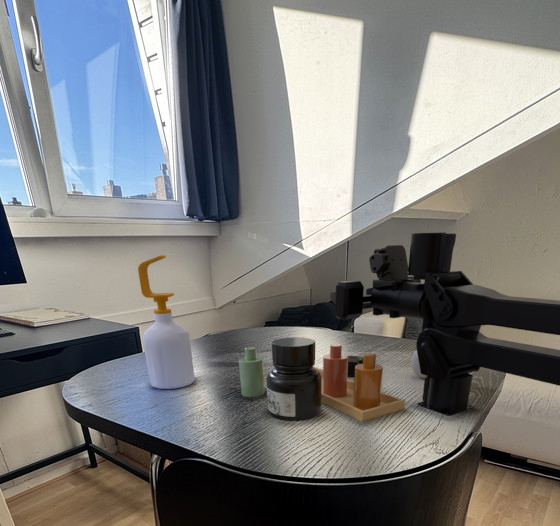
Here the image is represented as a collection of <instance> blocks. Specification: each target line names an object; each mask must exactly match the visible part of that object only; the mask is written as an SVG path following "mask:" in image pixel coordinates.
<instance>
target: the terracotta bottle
mask: <svg viewBox="0 0 560 526" xmlns="http://www.w3.org/2000/svg"><path fill="white" fill-rule="evenodd" d="M342 349H343V346H342V344H340V343H333V344H330V345H329V353H327V354H325V355H323V356H322V366H323V367H322V370H323V393H324V394H326V395H329V396H331V397H333V398H340V397H344V396H346V395H347V379H348V377H349V376H348V356H349V355H347V354H344V353H342V351H343V350H342Z"/></svg>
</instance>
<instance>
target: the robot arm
mask: <svg viewBox="0 0 560 526" xmlns="http://www.w3.org/2000/svg"><path fill="white" fill-rule="evenodd" d="M410 235H411V237H410V247H409V257H407V252H406V251H407V250H406V248H405V247H404V245H402V244H394V245H391V244H390V245H386V246H384V247H382V248H376V249H374V250H373V253H372V254H371V255H370V257H369V258H368V259H369V260H368V261H369V267H370V272H371V273H372V274H375V275H376V277H377V279H372V287H368V288H366V290H365V287H364V284H363V283H362V281H361V280H346V281H338V282H337V283H336V285H335V291H331V292H329V293H330V294H329V298H330V300H331V301H332V303H333V304H334V307H335V308H334V309H335V310H334V311H335V312H334V316H335V318H336V319H338V320H342V321H347V320H354V319H359V318H361V315H362V314H363V312H364V311H363V310H368V309H372V316H384V315H386V316H389V319H398V318H405V319H413V320H418V321H422V325H421V332H420V333H419V335H418V336H417V339H416V350H417V354H418V360H419V366H420V372H421V374H423V375H426V376H427V377H426V378H425V379H424V383H423V390H422V391H423V392H422V398H421V399H422V401H420V402H417V404H416V405H417V406H419V407H421V408H424V409H428V410H430V411H433V412H435V413H437V414H440V415H442V416H443V415H444V416H446V417H451V416H454V415H457V414H459V413H462V412H465V411H468V410H471V409H473V408H474V406H473V405H471V404H469V399H470V395H471V388H472V382H473V376H474V374H471V373H474V372H479V371H480V369H481V368H483V369H487V370H492V371H495V372H500V373H504V374H508V375H512V376H517V377H520V378H526V379H529V380H532V381H533V380H534V381H539V382H541V383H546V384H550V385H555V386H559V387H560V349H557V348H551V347H545V346H539V345H534V344H527V343H521V342H518V341H517V342H516V341H510V340H505V339H500V338H493V337H488V336H487V335H484V334H483V333H482V332H480V331H481V327H482V326H493V327H500V328H507V329H514V330H521V331H528V332H534V333H540V334H541V333H542V334H547V335H554V336H560V300H559V299H557V300H556V299H547V298H535V297H525V296H524V297H523V296H522V297H521V296H512V295H507V294H503V293H501V292H499V291H497V290H495V289H493V288H489V287H485V286H482V285H478V284H474V283H473V282H472V281H471V280H470V279H469V278H468V277H467V275H466V274H465V272H463V271H462V270H452V269H451V268H452V261H453V252H454V249H455V245H456V239H457V234H456V233H454V232H453V233H449V232H446V231H445V232H415V233H411V234H410ZM422 281H424V282H422ZM364 290H365V291H364ZM364 292H365V294H364Z"/></svg>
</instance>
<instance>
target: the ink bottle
mask: <svg viewBox="0 0 560 526" xmlns="http://www.w3.org/2000/svg"><path fill="white" fill-rule="evenodd" d="M271 360H272V366H273V368H272V369H271V371H270V372H268V374H267V376H266V399H267V400H266V401H267V413H268V415H269V416H270V417H272V418H273V419H276V420H280V421H285V422H302V421H307V420H312V419H314V418H317V417H318V416H320V415H321V413H322V403H321V383H322V379H321V375H320V373H319V372H318V371H317V370H316V369H315V368H314V367H315V365H316V340H315V339H312V338H310V337H301V336H299V337H298V336H297V337H296V336H294V337H293V336H291V337H290V336H289V337H282V338H276V339H274V340H273V341H271Z"/></svg>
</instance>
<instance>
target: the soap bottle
mask: <svg viewBox="0 0 560 526" xmlns="http://www.w3.org/2000/svg"><path fill="white" fill-rule="evenodd" d="M166 258H167V256H166V255H164V254H163V255H158V256H156V257H153V258H150V259H148V260H146V261H145V260H144V261H143V262H141V263H140V264H139V265H138V267H137V272H138V278H139V285H140V291H141V294H142V296H143V297H144V298H147V299H152V300H153V302H154V303H156V306H157V308H156V309H154V310H153V315H154V323H153V324H152V325H150V326H149V327H148V328H147V329H146V330H145V331H144V333H143V336H142V342H143V343H142V344H143V348H144V354H145V355H144V356H145V361H146V367H147V373H148V379H149V384H150V385H151V387H152V388H156V389H159V390H174V389H182V388H184V387H187V386H189V385H192V383H194V382H195V372H194V371H195V369H194V363H193V354H192V346H191V338H190V333H189V332H188V330H187V329H186V328H185V327H184V326H183V325H181V324H179V323H177V322H175V321H174V320H173V312H172V309H171V308H167V302H169V298H171V297H173V296H175V293H174V292H158V293H157V292H153V291H152V290H151V286H150V280H149V274H148V268H149V266H150V265H151V264H153V263H157V262H158V261H162V260H163V259H166Z"/></svg>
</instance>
